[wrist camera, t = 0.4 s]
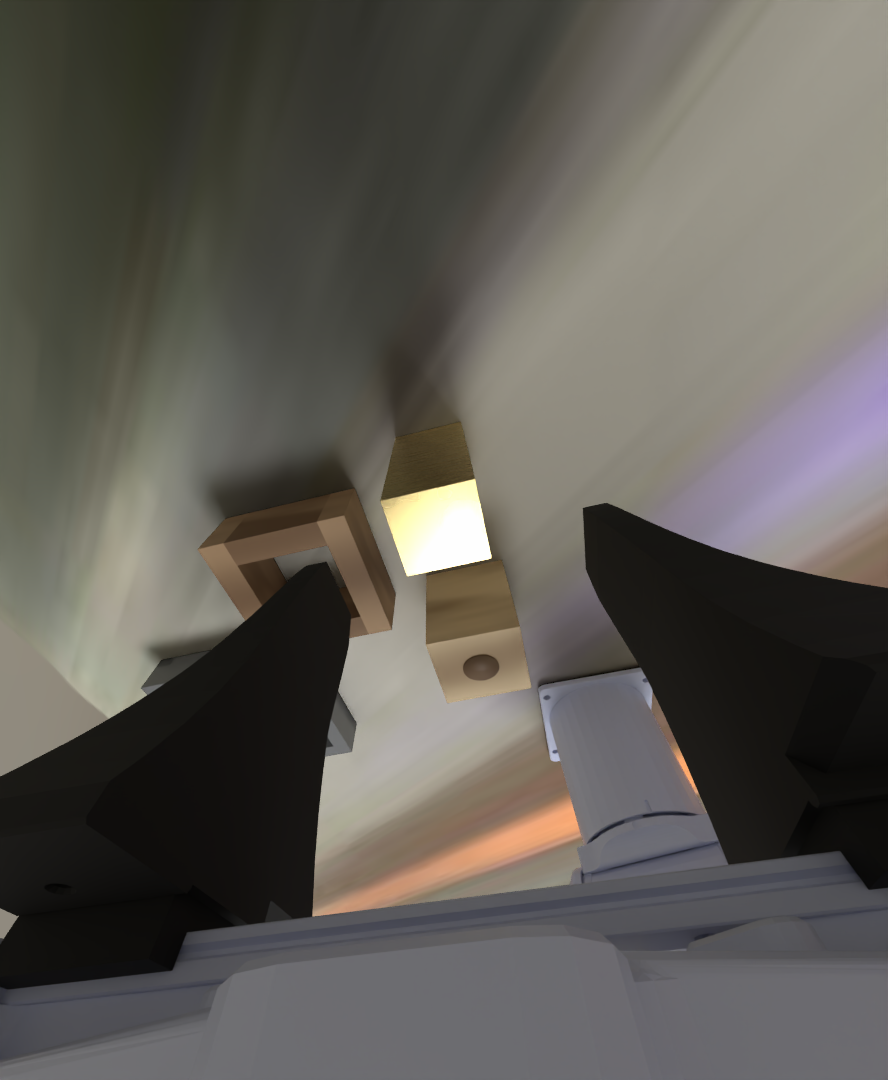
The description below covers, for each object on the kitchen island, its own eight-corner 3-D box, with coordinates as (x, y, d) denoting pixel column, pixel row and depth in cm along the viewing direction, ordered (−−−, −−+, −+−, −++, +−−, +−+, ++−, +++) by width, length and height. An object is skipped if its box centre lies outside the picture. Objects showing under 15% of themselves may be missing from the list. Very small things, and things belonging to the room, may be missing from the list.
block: (512, 615, 26) (531, 689, 21) (444, 629, 26) (447, 704, 21) (501, 559, 23) (520, 627, 18) (426, 575, 24) (425, 645, 19)
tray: (356, 723, 31) (351, 751, 29) (236, 745, 32) (224, 773, 30) (303, 631, 26) (292, 658, 24) (161, 660, 26) (141, 687, 25)
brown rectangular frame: (395, 594, 24) (391, 629, 22) (284, 617, 25) (268, 654, 22) (354, 488, 20) (344, 515, 18) (225, 518, 21) (197, 549, 19)
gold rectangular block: (473, 482, 21) (491, 558, 15) (413, 496, 21) (407, 576, 15) (460, 421, 19) (475, 478, 13) (395, 437, 19) (380, 500, 13)
